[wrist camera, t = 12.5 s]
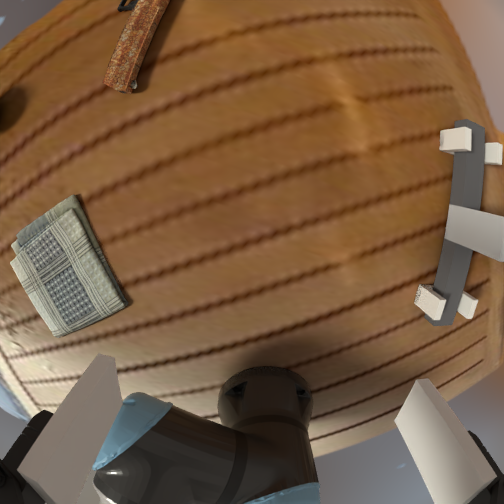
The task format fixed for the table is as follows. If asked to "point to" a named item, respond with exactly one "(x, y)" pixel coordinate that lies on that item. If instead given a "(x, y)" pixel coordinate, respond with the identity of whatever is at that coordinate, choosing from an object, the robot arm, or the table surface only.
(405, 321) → the table surface
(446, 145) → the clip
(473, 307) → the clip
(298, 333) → the table surface
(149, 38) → the decorative handgun
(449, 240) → the bar
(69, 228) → the dish towel
